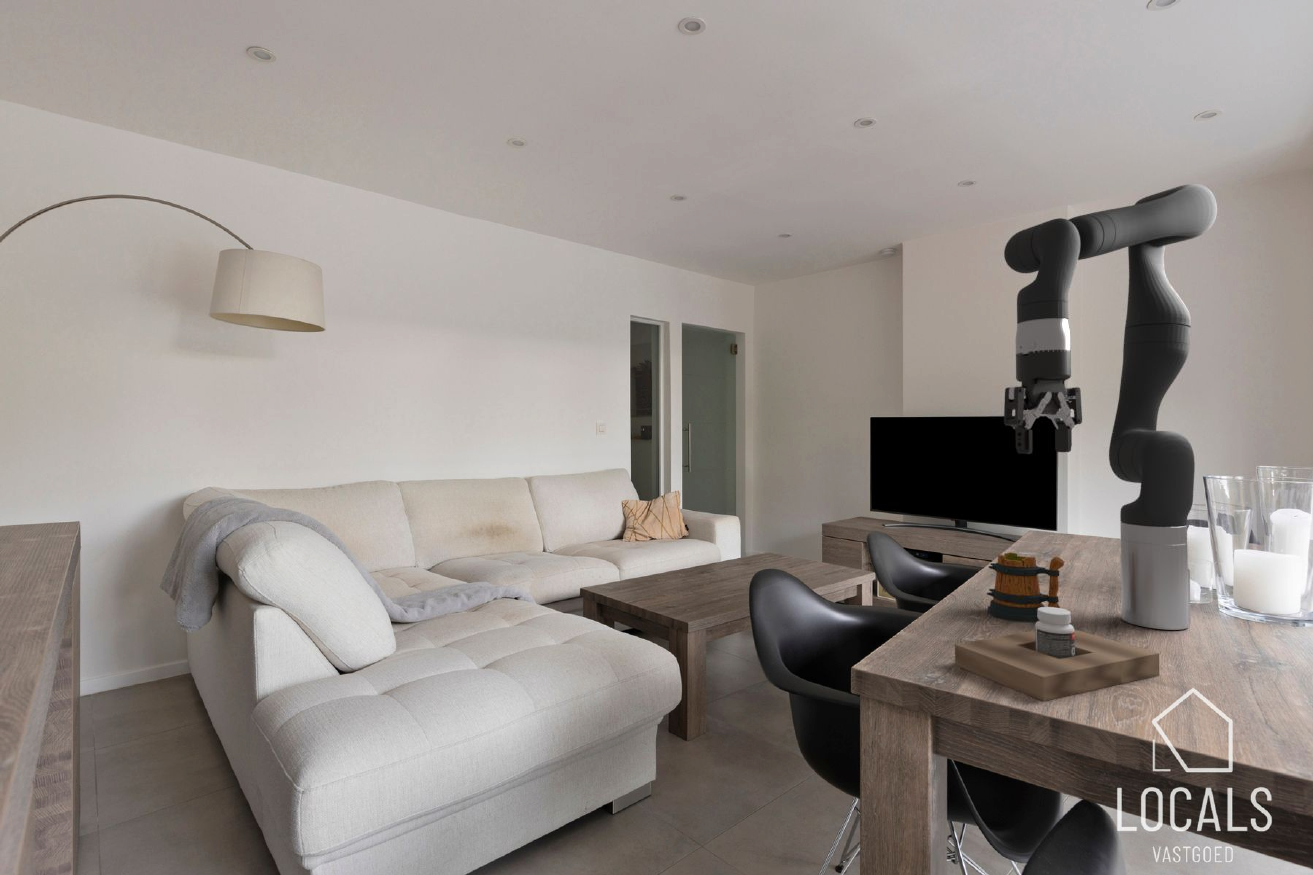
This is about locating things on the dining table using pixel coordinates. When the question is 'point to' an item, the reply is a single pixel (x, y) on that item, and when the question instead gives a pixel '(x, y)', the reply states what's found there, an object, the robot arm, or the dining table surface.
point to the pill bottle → (1055, 633)
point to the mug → (1022, 587)
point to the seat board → (1056, 664)
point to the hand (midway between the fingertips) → (1044, 452)
